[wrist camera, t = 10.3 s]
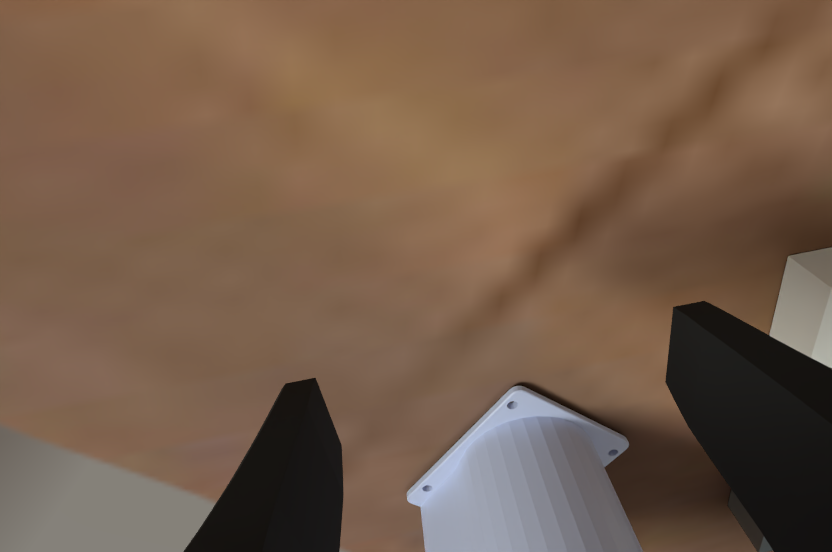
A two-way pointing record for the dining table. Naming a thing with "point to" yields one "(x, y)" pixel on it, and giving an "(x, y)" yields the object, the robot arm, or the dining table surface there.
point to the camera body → (798, 335)
